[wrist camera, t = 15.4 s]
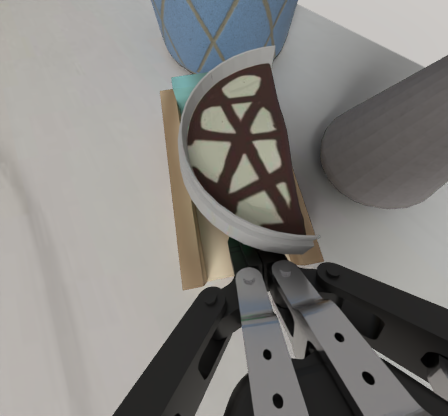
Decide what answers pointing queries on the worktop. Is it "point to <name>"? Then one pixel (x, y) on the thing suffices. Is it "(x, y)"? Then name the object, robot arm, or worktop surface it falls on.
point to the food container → (242, 156)
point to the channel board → (189, 213)
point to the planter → (221, 28)
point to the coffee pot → (392, 143)
